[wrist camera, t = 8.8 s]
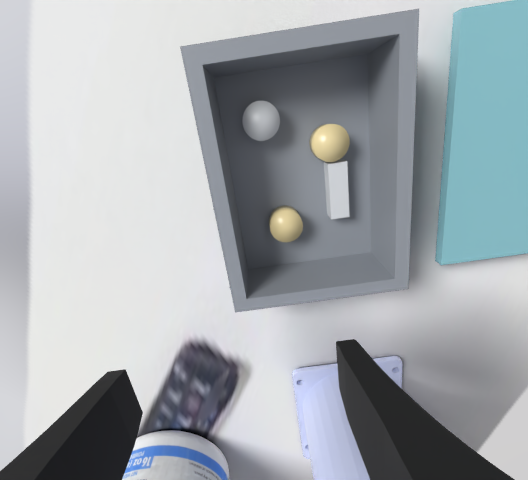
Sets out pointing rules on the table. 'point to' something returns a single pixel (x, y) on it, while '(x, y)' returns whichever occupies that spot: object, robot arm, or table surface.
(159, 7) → the table surface
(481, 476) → the robot arm
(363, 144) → the parts tub
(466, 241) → the lid
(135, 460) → the supplement tub
